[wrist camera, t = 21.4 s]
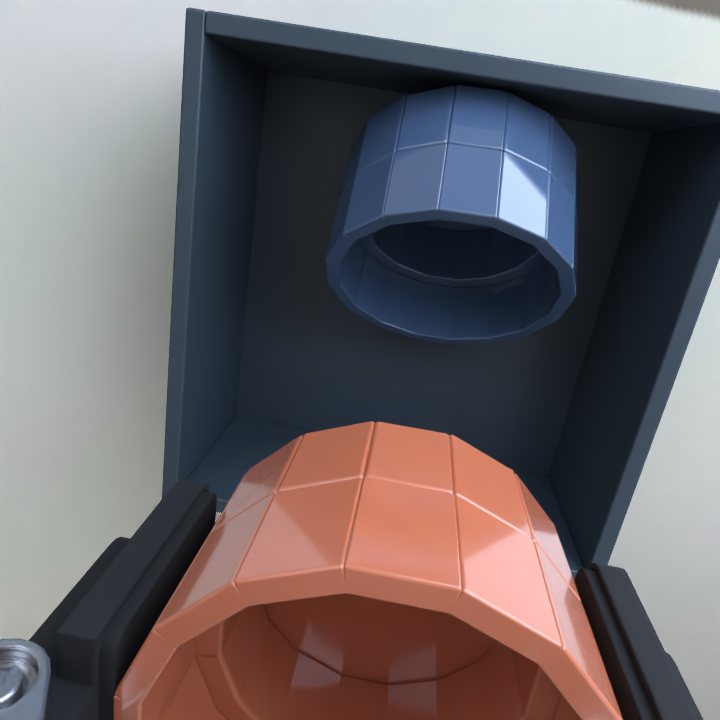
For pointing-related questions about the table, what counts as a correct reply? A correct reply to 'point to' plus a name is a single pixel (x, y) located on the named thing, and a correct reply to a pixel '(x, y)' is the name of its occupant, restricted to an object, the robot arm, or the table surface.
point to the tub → (400, 353)
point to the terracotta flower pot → (374, 595)
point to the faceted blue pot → (458, 218)
